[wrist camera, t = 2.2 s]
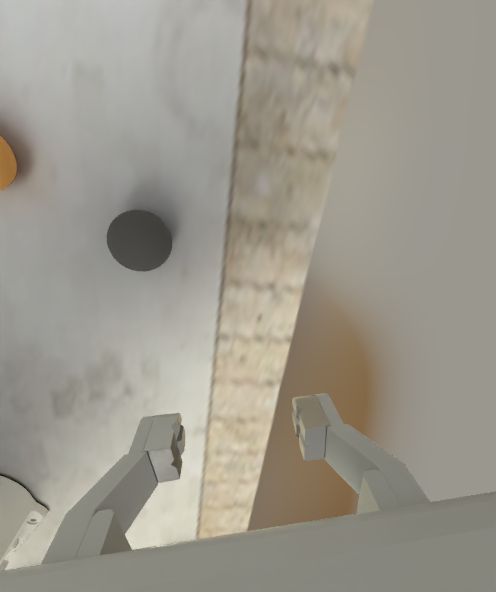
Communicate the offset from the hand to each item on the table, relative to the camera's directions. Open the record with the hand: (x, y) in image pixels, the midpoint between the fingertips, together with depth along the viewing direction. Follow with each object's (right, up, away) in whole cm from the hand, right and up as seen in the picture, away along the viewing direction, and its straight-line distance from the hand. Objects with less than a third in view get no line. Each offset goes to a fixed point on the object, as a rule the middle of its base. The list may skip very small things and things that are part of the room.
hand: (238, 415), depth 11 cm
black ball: (-10, +10, +12) cm, 19 cm away
